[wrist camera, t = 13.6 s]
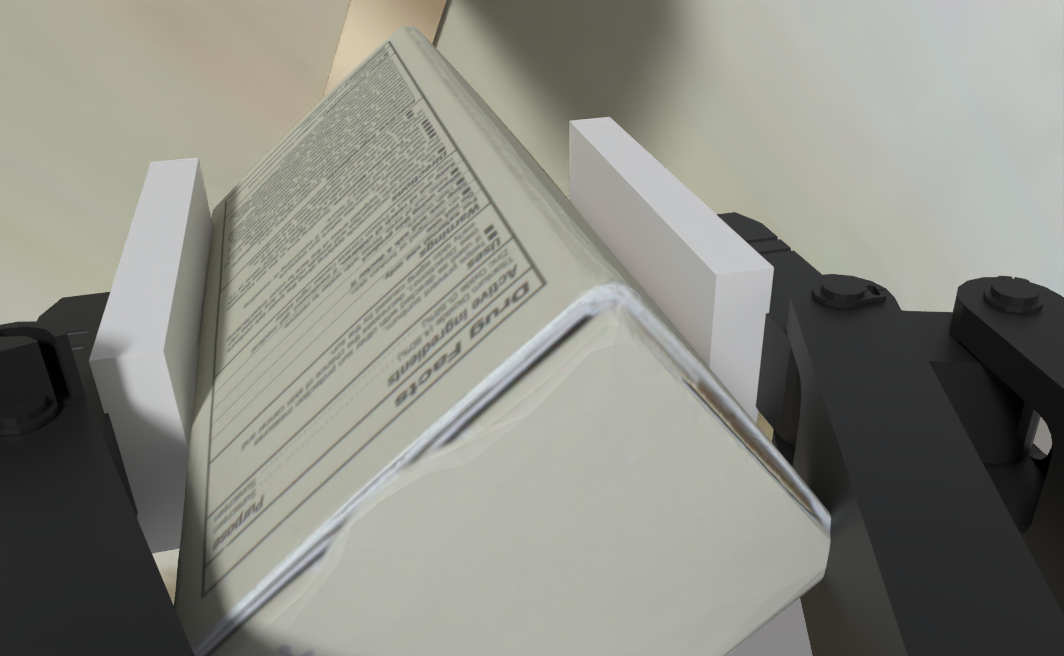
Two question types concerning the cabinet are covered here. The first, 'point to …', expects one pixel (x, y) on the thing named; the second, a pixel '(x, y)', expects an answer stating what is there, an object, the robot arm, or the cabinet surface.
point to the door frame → (379, 29)
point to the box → (459, 412)
